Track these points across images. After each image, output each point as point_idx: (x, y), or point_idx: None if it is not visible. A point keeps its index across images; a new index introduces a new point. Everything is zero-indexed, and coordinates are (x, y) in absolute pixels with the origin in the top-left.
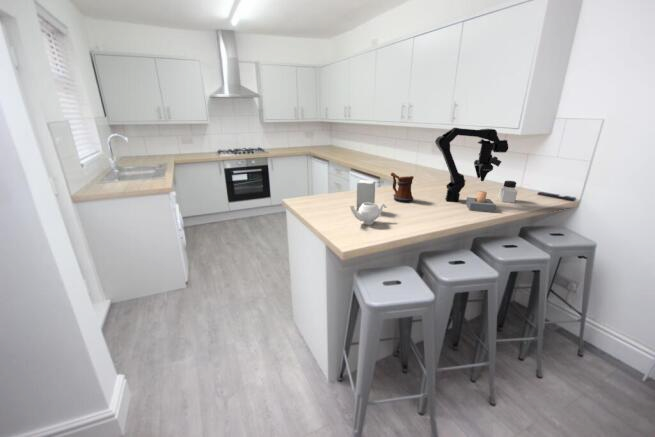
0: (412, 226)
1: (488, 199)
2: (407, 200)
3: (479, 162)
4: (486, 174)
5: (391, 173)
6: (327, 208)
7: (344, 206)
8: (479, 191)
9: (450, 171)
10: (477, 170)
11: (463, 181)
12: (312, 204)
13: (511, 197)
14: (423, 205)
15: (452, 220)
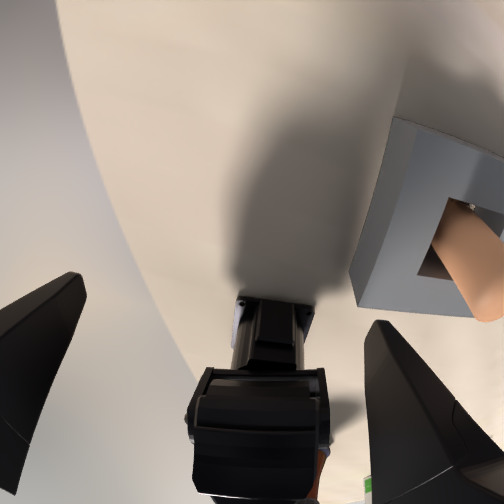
0: (500, 418)
1: (431, 153)
2: (329, 450)
3: None
4: (477, 432)
5: None
6: (361, 492)
7: (351, 486)
8: (475, 311)
9: None
10: (25, 414)
11: (317, 439)
12: (335, 499)
13: None
14: (362, 418)
15: None
